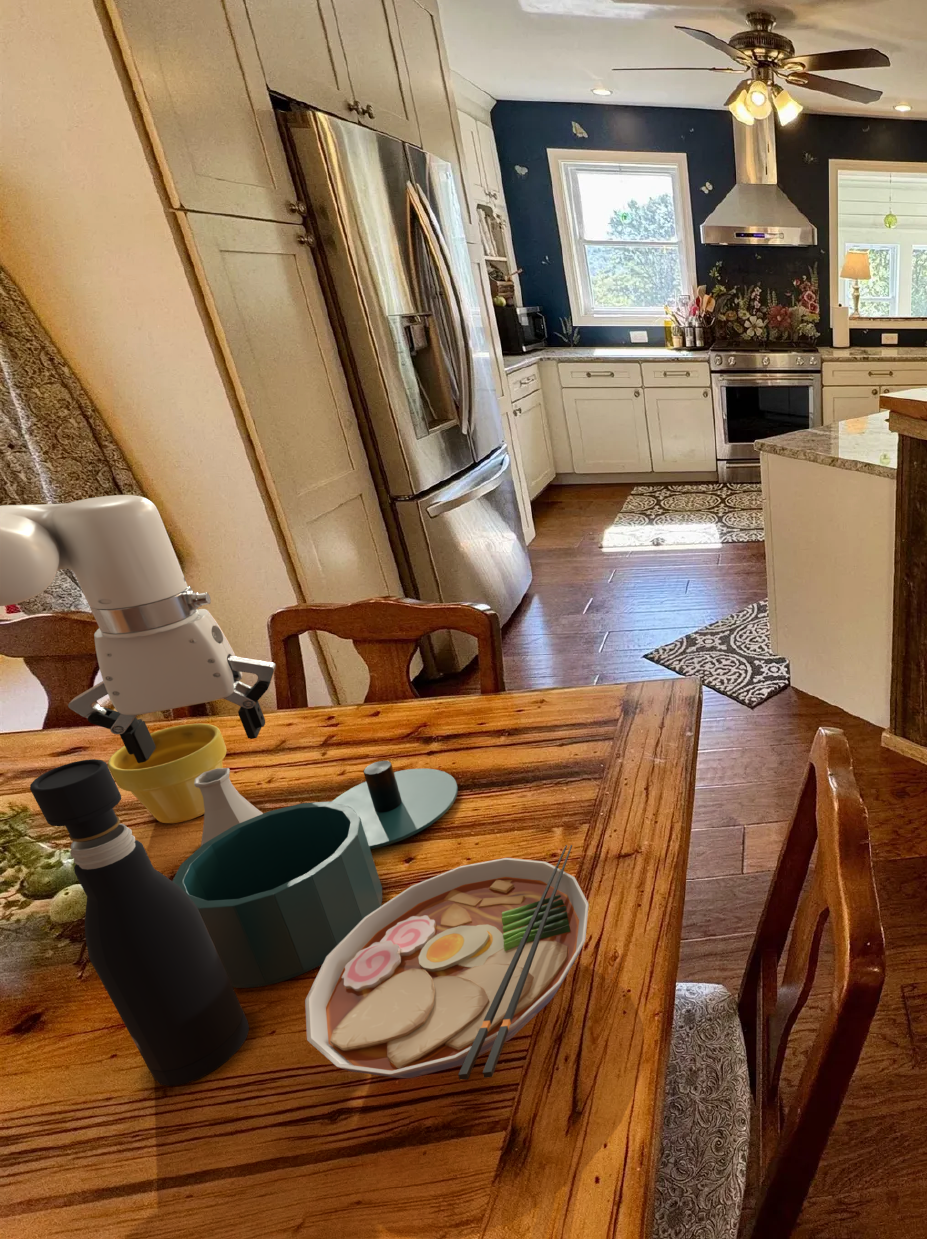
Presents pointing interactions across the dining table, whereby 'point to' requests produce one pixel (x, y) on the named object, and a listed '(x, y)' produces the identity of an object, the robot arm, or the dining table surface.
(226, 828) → the flask
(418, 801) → the lid
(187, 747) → the flower pot
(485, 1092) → the dining table surface
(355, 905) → the pot
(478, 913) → the ramen bowl
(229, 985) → the dark water bottle
